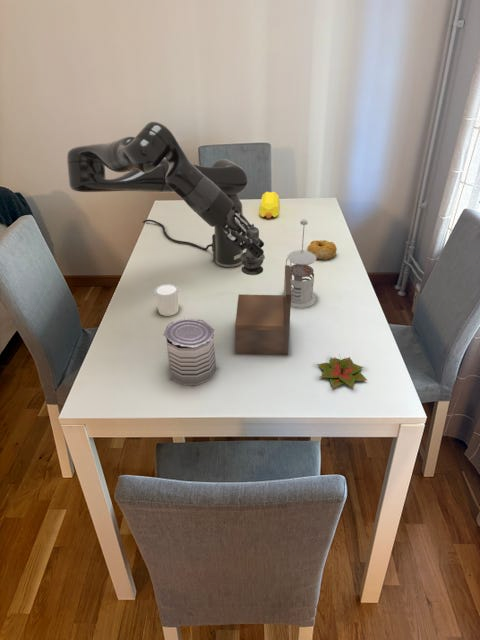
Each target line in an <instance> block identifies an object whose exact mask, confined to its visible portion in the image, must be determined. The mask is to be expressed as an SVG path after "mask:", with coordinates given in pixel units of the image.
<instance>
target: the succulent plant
mask: <svg viewBox="0 0 480 640" xmlns="http://www.w3.org/2000/svg"><path fill="white" fill-rule="evenodd" d="M338 356H339V357H341V355H340V353H339V354H338ZM316 365H317V366H318V367H319V368H320V369H321V370H322V371H323V372H322V373H321V375H320V376H319V378H329V382H330V384H331V387H332V389H334V388H336V387H339V386H342V385H343V384H346V385H348V386H349V387H351V388H352V389H354V387H355V381H357V382H359V381H368V379H367V378H366V377H365V376H364V374H362V373H361V372H360V371H361V370H362V369H364V366H361V365H358V364H356V363H354V361H353V360H352V359H351V357H350V356H349V357H344V358H337V357H336V356H334V358H333V357H330V359H329V362H321V363H317V364H316Z"/></svg>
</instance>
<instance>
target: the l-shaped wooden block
mask: <svg viewBox="0 0 480 640" xmlns="http://www.w3.org/2000/svg"><path fill="white" fill-rule="evenodd" d="M283 281H284V283H283V294H242V293H241V294H240V293H239V294H238V295H237V296H238V297H237V304H236V305H237V306H236V307H237V308H236V314H235V324H234V331H235V332H234V333H235V336H234V337H235V338H234V339H235V354H238V355H271V356H272V355H274V356H275V355H276V356H277V355H278V356H288V355H289V346H290V345H289V344H290V325H291V309H292V308H291V307H292V306H291V290H292V289H291V287H292V286H291V278H290V264H289V265H288V264H287V265H286V264H285V265H284V280H283Z"/></svg>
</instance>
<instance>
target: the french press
mask: <svg viewBox="0 0 480 640" xmlns="http://www.w3.org/2000/svg"><path fill="white" fill-rule="evenodd" d="M300 225H301V226H303V228H302V240H301V241H302V243H301V249H298V250H294V251H291V252H289V253H288V254H287V258H286V260H285V265H288V264H287V263H288V262H287V261H289V265H290V278H291V307H293V308H299V309H301V308H308V307H310V306H312V305H314V304H315V302H316V296H315V295H314V283H315V273H314V268H313V267H312V266H311V265H313V264H314V263H315V262H316V261H317V258H316V256H315V255H314V254H313V253H311V252H309V251H307V250H305V249H304V240H305V239H304V237H305V226H306V225H308V220H307V219H305V218H303V219H301V220H300ZM292 264H293V265H292Z"/></svg>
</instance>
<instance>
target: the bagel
mask: <svg viewBox="0 0 480 640" xmlns="http://www.w3.org/2000/svg"><path fill="white" fill-rule="evenodd" d="M337 250H338V248H337V246H336V244H335V242H333V241H328V240H325V239H324V240H312V241H311V242H310V244H309V245H308V246H307V249H306V251H309V252H311V253H313V254H314V255H315V256H316V259H318V260H323V261H324V260H325V261H326V260H329V259H332V258H334V257H335V256H336V253H337Z"/></svg>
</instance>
